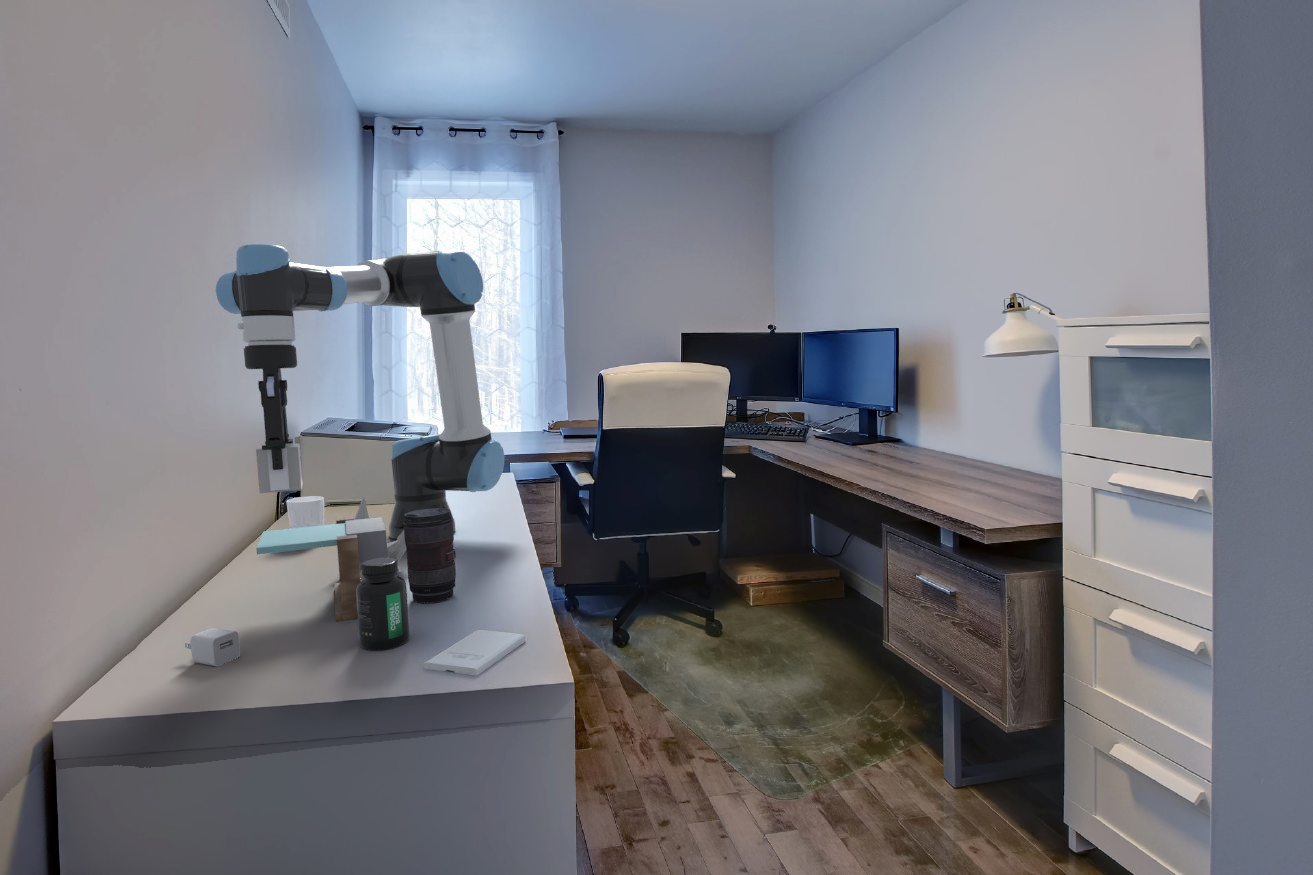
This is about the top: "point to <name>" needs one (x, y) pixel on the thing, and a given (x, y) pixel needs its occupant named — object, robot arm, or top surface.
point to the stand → (347, 575)
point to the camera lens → (430, 554)
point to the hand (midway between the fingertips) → (281, 486)
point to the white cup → (306, 511)
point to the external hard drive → (475, 652)
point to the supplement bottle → (382, 605)
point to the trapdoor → (329, 538)
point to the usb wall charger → (214, 646)
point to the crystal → (393, 548)
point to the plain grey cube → (293, 469)
